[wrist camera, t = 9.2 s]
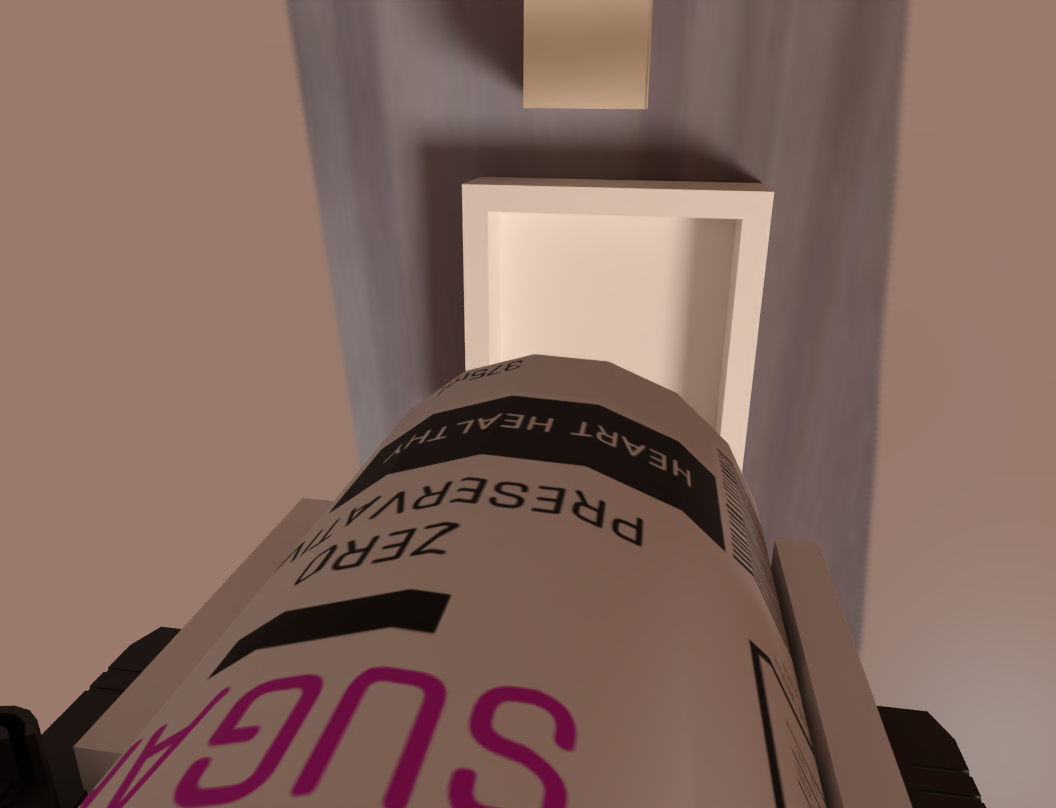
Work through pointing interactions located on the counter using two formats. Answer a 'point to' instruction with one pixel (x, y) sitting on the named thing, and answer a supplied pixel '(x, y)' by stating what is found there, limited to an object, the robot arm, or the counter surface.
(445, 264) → the counter surface
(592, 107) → the birch block
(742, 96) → the counter surface
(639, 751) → the supplement can
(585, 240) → the off-white tray
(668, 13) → the counter surface
